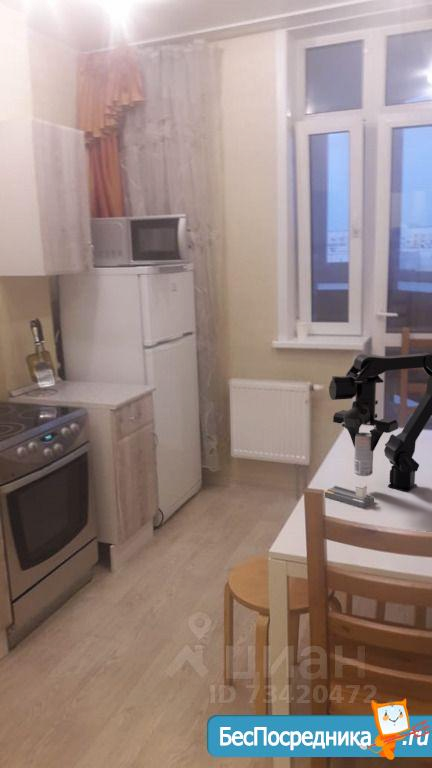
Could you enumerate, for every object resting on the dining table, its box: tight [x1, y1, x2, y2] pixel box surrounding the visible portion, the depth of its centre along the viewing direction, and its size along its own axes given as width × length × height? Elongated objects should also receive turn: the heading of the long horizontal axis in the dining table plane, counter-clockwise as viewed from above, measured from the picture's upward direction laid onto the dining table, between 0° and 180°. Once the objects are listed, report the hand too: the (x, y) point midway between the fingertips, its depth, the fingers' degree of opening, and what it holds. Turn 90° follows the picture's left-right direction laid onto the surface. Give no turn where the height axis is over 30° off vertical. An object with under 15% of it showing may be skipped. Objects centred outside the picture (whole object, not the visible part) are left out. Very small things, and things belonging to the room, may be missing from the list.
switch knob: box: [355, 483, 368, 499], centre depth 174 cm, size 2×2×4 cm
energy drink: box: [353, 432, 374, 477], centre depth 181 cm, size 5×5×12 cm
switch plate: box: [324, 485, 375, 509], centre depth 177 cm, size 13×6×2 cm, turn 46°
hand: (363, 448), depth 181 cm, fingers closed on energy drink, 5 cm apart
